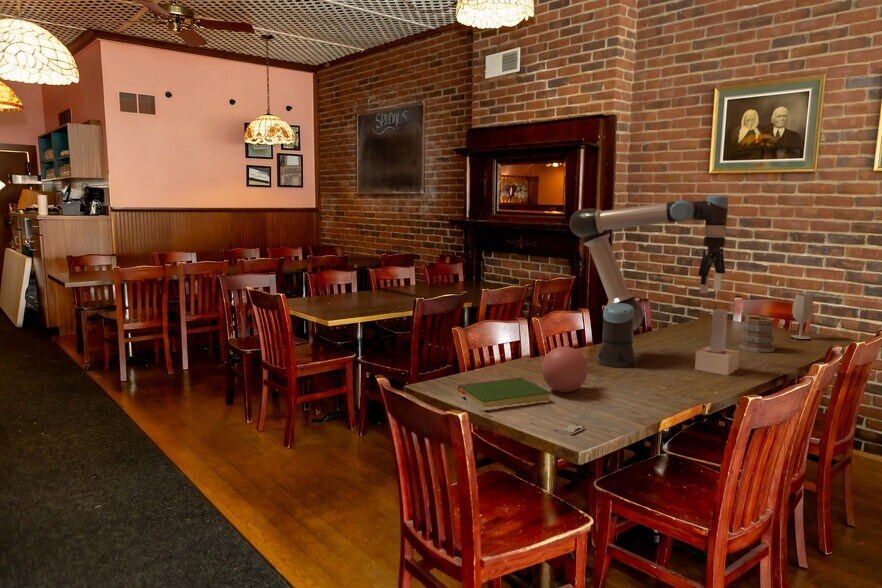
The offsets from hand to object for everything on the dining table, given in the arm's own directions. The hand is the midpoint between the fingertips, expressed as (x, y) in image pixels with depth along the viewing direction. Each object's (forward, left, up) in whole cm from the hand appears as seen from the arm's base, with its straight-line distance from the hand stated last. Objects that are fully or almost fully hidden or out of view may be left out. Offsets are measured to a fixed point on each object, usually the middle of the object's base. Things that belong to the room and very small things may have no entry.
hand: (710, 291), depth 241 cm
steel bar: (-3, -5, -26) cm, 27 cm away
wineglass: (+81, -15, -30) cm, 88 cm away
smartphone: (-98, +8, -30) cm, 102 cm away
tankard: (+46, -4, -30) cm, 55 cm away
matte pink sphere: (-65, +23, -30) cm, 75 cm away
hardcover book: (-87, +34, -30) cm, 99 cm away
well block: (-3, -5, -30) cm, 30 cm away
